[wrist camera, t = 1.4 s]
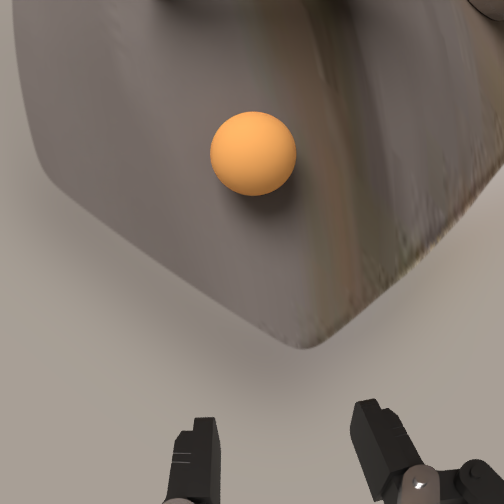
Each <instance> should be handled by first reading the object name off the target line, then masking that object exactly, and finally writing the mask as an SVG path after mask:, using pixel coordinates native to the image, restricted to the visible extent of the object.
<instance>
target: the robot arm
mask: <svg viewBox="0 0 504 504" xmlns="http://www.w3.org/2000/svg"><path fill="white" fill-rule="evenodd" d="M469 1H470V2H471V3H472V4H473V5H474V6H475V7H476V8H477V9H478V10H479V11H480V12H482V13H483V14H484V15H486V16H487V17H489V18H491V19H493V20H496V21H502V20H504V0H469ZM350 435H351V440H352V443H353V445H354V448H355V451H356V453H357V456H358V458H359V462H360V464H361V467H362V469H363V472H364V475H365V478H366V481H367V483H368V486H369V489H370V492H371V494H372V497H373V500H374V502H376V501H380V500H383V501H384V504H504V480H503V479H502V478H501V477H500V476H499V475H498V474H497V473H496V472H495V471H494V470H493V469H492V468H491V467H490V466H489V465H488V464H487V463H486V462H484V461H482V460H479V459H473V460H469V461H467V462H466V463H465V464H464V465H463V466H462V467H461V468H460V469H455V470H445V471H437V470H435V469H434V468H433V467H431V466H428V465H425V464H424V463H423V461H422V460H421V458H420V456H419V454H418V452H417V450H416V448H415V447H414V445H413V443H412V441H411V439H410V437H409V436H408V435H407V432H406V430H405V428H404V427H403V424H402V423H401V421H400V419H399V417H398V415H396V414H395V413H394V412H393V411H391V410H390V409H389V408H386V409H382V410H381V408H380V406H379V404H378V402H377V401H376V399H369V400H364V401H359V402H356V403H355V406H354V411H353V416H352V421H351V425H350ZM220 472H221V448H220V440H219V435H218V430H217V425H216V421H215V418H214V417H205V418H204V417H203V418H195V419H194V427H193V431H181V433H180V434H179V436H178V437H177V439H176V440H175V444H174V450H173V456H172V464H171V470H170V477H169V483H168V491H167V496H166V499H165V500H164V502H163V503H162V504H220V474H221V473H220Z"/></svg>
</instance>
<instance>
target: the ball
mask: <svg viewBox="0 0 504 504" xmlns="http://www.w3.org/2000/svg"><path fill="white" fill-rule="evenodd" d="M210 157H211V163H212V167H213V169H214V172H215V174H216V175H217V177H218V178H219V180H220V181H221V182H222V183H223V184H224V185H225V186H227V187H228V188H229V189H231V190H233V191H234V192H237V193H239V194H243V195H249V196H258V195H264V194H267V193H270V192H272V191H274V190H276V189H277V188H279V187H280V186H281V185H283V184H284V183H285V182H286V180H287V179H288V178H289V176H290V175H291V173H292V171H293V169H294V166H295V162H296V146H295V142H294V139H293V136H292V135H291V133H290V131H289V130H288V128H287V127H286V126H285V125H284V124H283V123H282V122H281V121H280V120H278V119H277V118H275V117H273V116H271V115H269V114H266V113H262V112H245V113H241V114H238V115H235V116H233V117H232V118H230V119H228V120H227V121H226V122H225V123H224V124H222V125H221V127H220V128H219V129H218V130H217V132H216V134H215V136H214V138H213V141H212V144H211V150H210Z"/></svg>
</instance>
